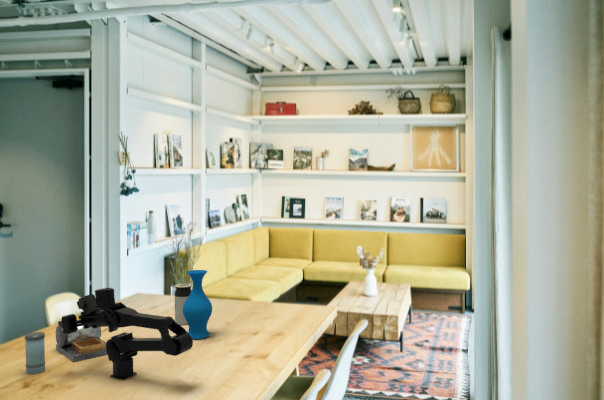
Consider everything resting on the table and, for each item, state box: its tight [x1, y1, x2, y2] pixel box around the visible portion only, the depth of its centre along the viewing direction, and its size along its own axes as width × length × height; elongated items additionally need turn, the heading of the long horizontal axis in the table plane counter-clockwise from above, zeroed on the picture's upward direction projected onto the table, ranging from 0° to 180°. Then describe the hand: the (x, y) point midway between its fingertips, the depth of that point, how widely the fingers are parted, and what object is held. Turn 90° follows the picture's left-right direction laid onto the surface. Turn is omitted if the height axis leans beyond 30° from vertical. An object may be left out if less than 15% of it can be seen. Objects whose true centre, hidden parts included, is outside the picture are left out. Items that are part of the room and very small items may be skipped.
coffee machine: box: [55, 325, 108, 363], centre depth 215 cm, size 20×16×10 cm
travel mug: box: [174, 283, 192, 326], centre depth 257 cm, size 8×8×18 cm
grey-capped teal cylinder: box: [24, 331, 46, 375], centre depth 193 cm, size 6×6×13 cm
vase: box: [183, 269, 213, 340], centre depth 235 cm, size 12×13×28 cm
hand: (68, 320), depth 198 cm, fingers open, 9 cm apart
